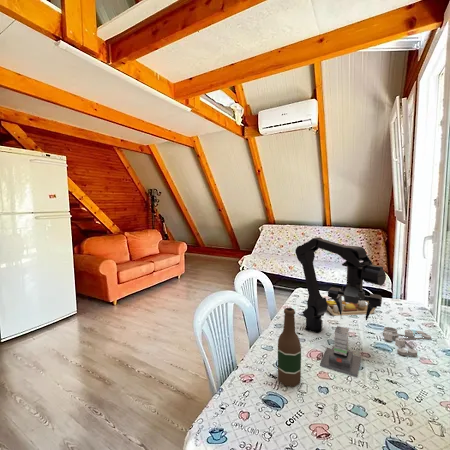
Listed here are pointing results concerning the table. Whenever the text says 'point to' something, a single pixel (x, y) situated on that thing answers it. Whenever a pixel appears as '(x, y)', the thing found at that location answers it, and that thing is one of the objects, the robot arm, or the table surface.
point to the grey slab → (341, 340)
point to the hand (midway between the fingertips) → (353, 317)
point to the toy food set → (348, 308)
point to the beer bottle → (289, 352)
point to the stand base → (341, 362)
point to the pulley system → (403, 339)
